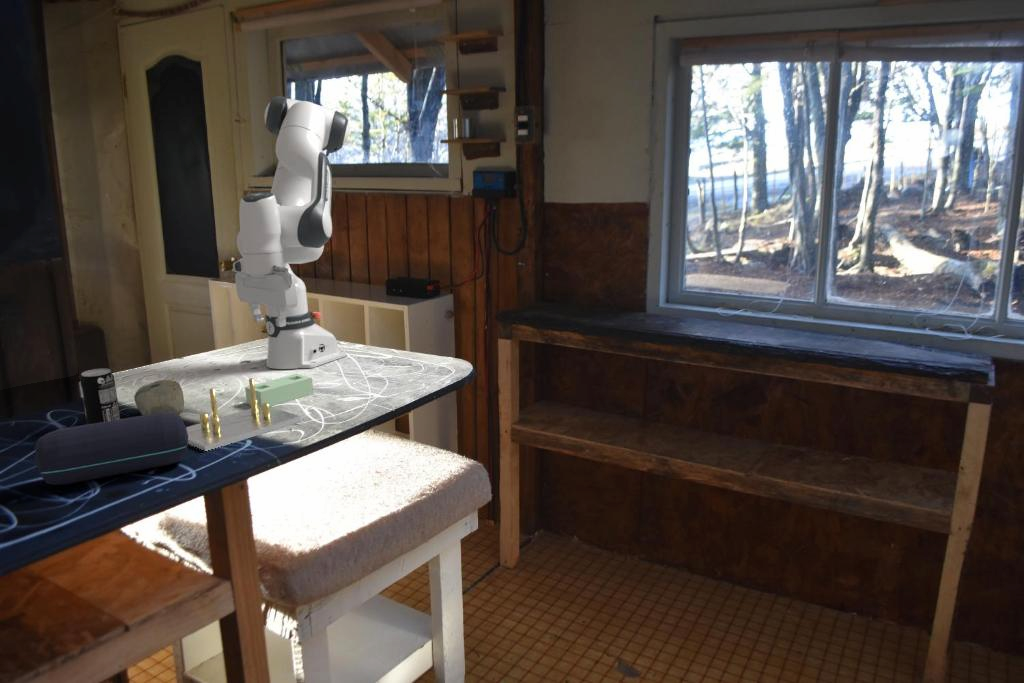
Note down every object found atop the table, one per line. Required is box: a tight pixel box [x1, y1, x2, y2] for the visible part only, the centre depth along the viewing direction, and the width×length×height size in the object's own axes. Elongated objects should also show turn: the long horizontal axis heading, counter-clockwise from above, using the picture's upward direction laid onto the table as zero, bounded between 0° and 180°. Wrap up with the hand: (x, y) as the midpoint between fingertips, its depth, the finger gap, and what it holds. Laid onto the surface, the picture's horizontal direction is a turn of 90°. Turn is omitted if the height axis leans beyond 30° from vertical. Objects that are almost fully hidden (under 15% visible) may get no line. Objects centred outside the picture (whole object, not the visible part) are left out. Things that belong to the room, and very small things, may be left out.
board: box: [244, 373, 314, 407], centre depth 189 cm, size 14×6×4 cm, turn 139°
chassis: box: [186, 378, 302, 452], centre depth 168 cm, size 22×14×10 cm, turn 139°
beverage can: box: [79, 368, 121, 425], centre depth 174 cm, size 7×7×12 cm
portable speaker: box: [34, 412, 189, 486], centre depth 146 cm, size 25×10×10 cm, turn 117°
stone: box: [134, 379, 185, 416], centre depth 180 cm, size 10×10×10 cm
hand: (269, 324), depth 185 cm, fingers open, 8 cm apart
